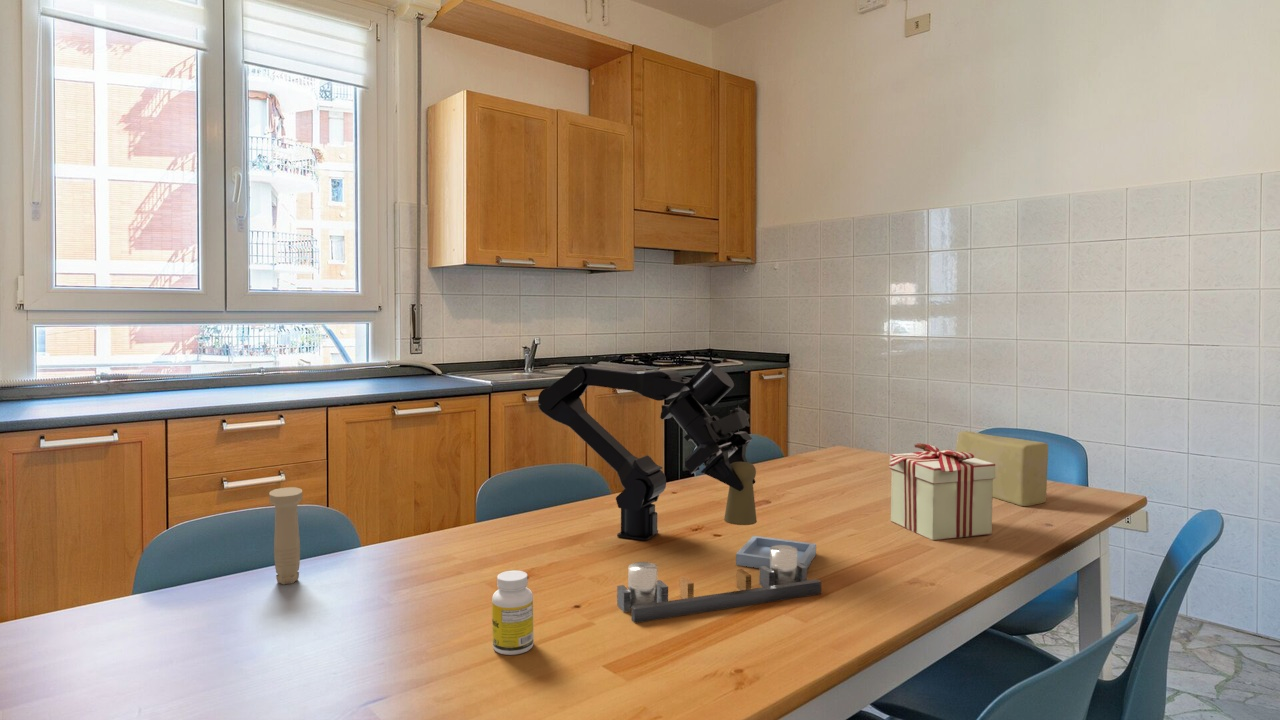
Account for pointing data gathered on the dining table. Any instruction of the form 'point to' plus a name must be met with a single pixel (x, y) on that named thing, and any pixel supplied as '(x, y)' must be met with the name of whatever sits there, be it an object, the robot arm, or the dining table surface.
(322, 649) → the dining table surface
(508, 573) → the supplement bottle
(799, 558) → the tray
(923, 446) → the gift box
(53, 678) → the dining table surface
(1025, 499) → the cheese
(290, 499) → the handle
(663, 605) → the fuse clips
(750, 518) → the olive knobbed post
